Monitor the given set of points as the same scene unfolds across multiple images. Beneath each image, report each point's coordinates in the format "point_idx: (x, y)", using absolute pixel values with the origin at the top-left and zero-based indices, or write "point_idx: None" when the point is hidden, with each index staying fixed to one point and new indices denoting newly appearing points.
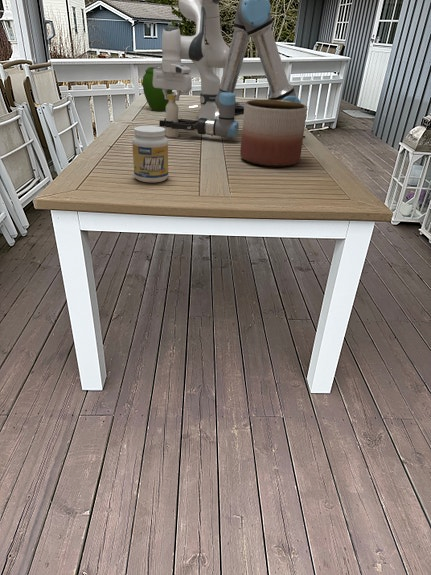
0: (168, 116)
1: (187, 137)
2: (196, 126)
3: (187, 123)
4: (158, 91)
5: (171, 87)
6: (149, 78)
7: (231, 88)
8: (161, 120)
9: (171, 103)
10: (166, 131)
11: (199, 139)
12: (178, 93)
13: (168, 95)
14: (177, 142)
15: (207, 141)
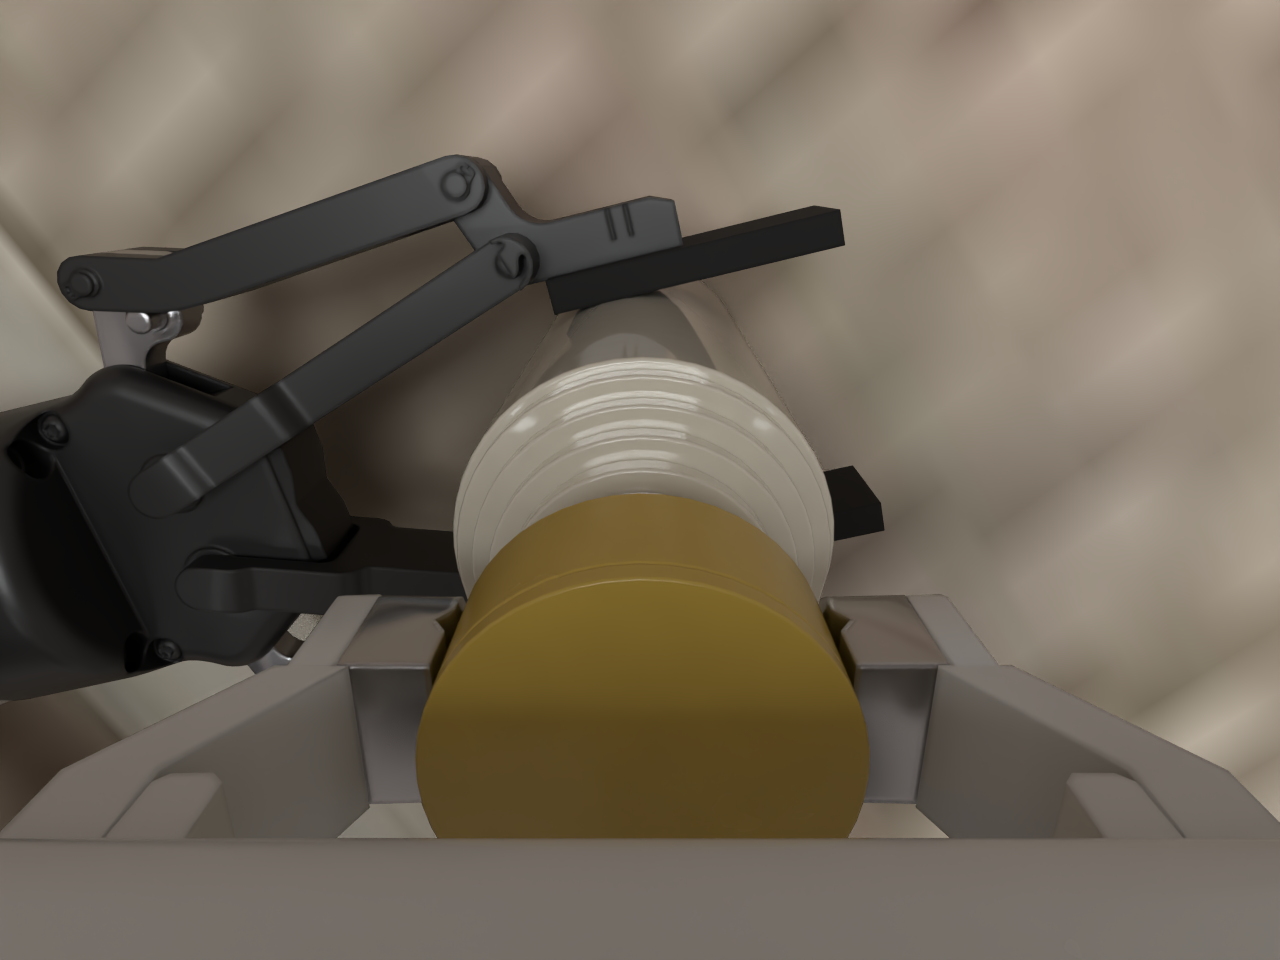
0: (648, 314)
1: (411, 425)
2: (59, 401)
3: (388, 548)
4: None
5: (437, 948)
6: None
7: None
8: (805, 248)
9: (592, 498)
10: (700, 286)
11: None
12: (102, 764)
13: (707, 580)
14: (298, 4)
15: (37, 393)
